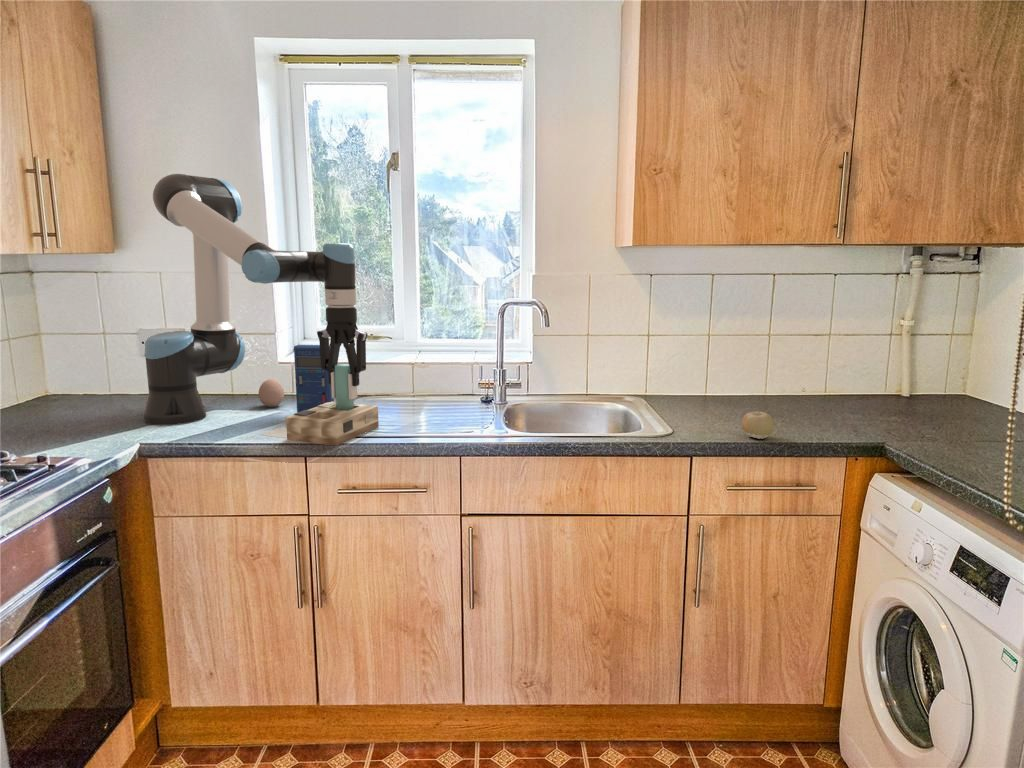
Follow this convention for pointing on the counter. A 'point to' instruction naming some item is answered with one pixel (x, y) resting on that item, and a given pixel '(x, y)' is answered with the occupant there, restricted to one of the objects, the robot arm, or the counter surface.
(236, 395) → the counter surface
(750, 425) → the fruit
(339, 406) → the pale green cylinder
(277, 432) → the mat
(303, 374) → the electronic device
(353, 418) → the socket block
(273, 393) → the egg
